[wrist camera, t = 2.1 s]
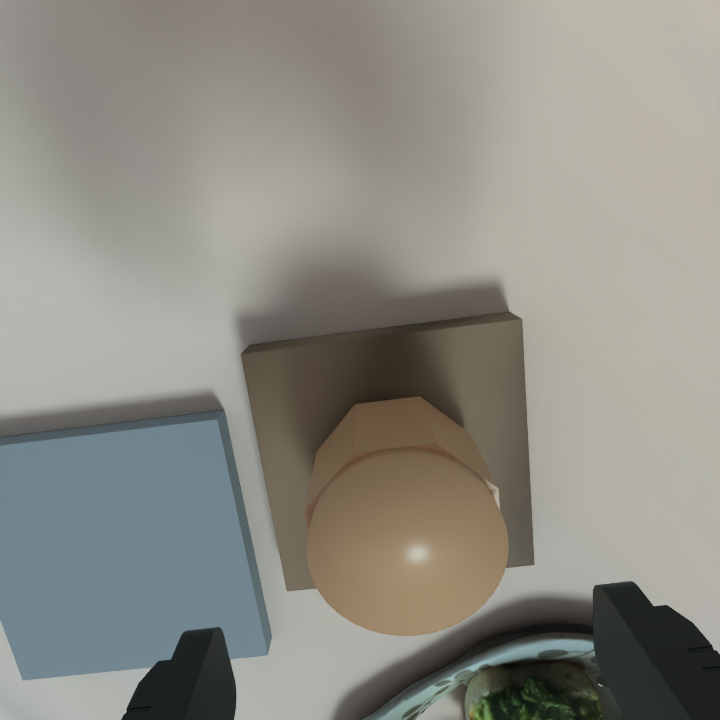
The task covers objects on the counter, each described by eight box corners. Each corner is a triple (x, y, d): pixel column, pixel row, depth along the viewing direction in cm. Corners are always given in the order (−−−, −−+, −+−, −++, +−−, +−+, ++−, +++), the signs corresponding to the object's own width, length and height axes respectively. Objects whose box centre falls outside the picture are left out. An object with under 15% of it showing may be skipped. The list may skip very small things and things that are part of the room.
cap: (466, 390, 18) (502, 448, 13) (477, 529, 19) (514, 625, 15) (309, 409, 18) (291, 472, 14) (331, 545, 20) (322, 645, 15)
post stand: (510, 312, 19) (573, 349, 13) (523, 542, 22) (580, 656, 16) (249, 344, 20) (202, 394, 14) (291, 567, 22) (266, 688, 16)
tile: (224, 410, 20) (217, 419, 19) (271, 637, 23) (267, 655, 22) (-41, 442, 21) (-61, 452, 20) (36, 661, 24) (22, 680, 23)
